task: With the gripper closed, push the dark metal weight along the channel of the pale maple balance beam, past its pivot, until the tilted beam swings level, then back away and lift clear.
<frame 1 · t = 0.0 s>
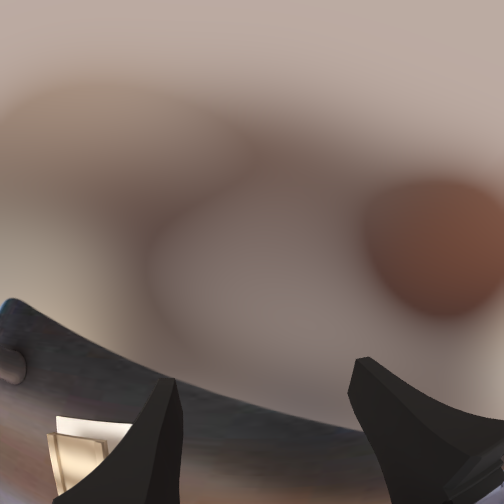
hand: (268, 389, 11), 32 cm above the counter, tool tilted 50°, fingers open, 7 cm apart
beer glass: (14, 367, 37), on the counter
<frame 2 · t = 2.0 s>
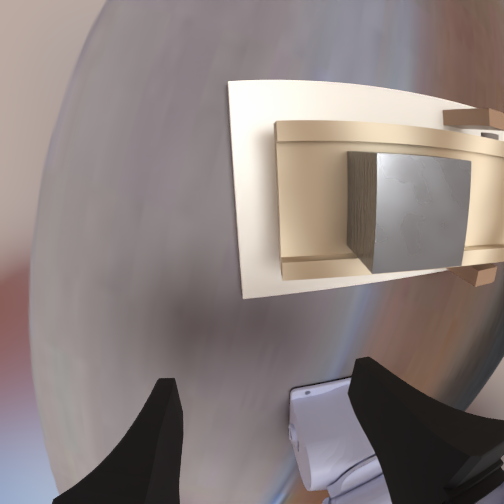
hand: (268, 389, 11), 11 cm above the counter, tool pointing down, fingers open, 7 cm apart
balance beam: (493, 199, 16), point 6 cm above the counter, hinge at -6.9°, touching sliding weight
beam stand: (445, 186, 21), on the counter
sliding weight: (390, 198, 15), point 5 cm above the counter, tilted 7°, touching balance beam
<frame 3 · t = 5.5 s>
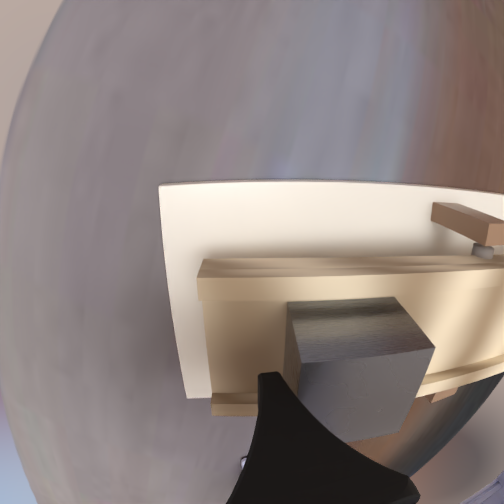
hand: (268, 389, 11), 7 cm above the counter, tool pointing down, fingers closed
balance beam: (470, 322, 14), point 6 cm above the counter, hinge at -6.8°, touching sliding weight
beam stand: (422, 283, 20), on the counter
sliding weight: (336, 345, 14), point 5 cm above the counter, tilted 7°, touching balance beam, gripper
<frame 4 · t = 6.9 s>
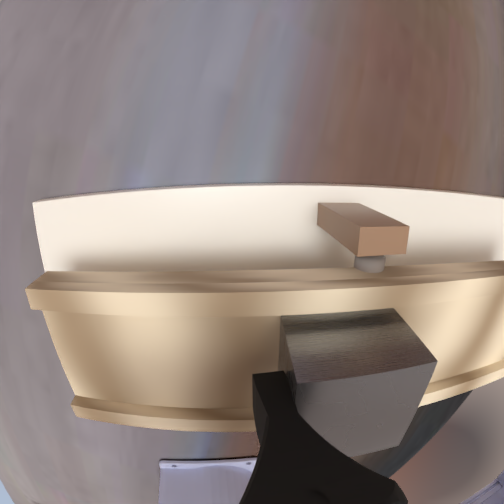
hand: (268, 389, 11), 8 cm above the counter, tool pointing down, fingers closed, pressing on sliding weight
balance beam: (360, 348, 14), point 6 cm above the counter, hinge at -4.6°, touching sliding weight
beam stand: (324, 296, 19), on the counter
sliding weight: (332, 358, 13), point 6 cm above the counter, touching balance beam, gripper
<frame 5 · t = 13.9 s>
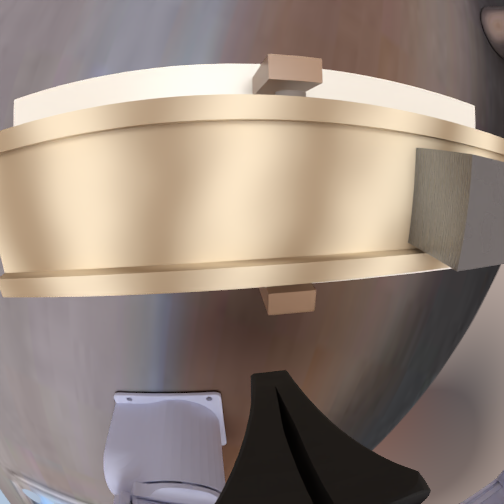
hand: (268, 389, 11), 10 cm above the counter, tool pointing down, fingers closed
balance beam: (294, 189, 13), point 6 cm above the counter, hinge at 0.9°, touching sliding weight
beam stand: (270, 176, 19), on the counter
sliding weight: (445, 197, 14), point 6 cm above the counter, touching balance beam
beer glass: (497, 33, 16), on the counter
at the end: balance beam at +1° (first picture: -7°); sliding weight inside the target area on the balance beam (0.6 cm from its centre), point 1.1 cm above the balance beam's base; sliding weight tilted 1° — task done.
